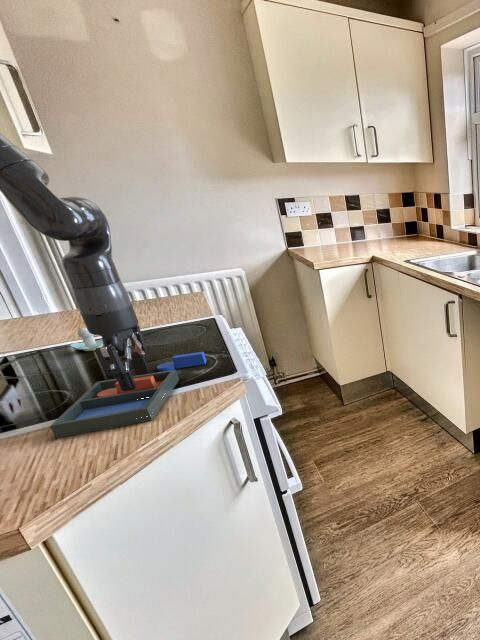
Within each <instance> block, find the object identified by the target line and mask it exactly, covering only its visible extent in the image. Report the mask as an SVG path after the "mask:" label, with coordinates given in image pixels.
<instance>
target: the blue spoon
mask: <svg viewBox="0 0 480 640" xmlns="http://www.w3.org/2000/svg"><path fill="white" fill-rule="evenodd" d="M207 362H208V361H207V358H206V355H205V352H204V351H198V352H191V353H183V354H177V355H173V356H172V361H168V362H163V363H161V364H158V365H157V366H156V369H157V372H164V371H170V370H178V369H183V368H184V369H185V368H190V367H196V366H203V365H206V364H207Z"/></svg>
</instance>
